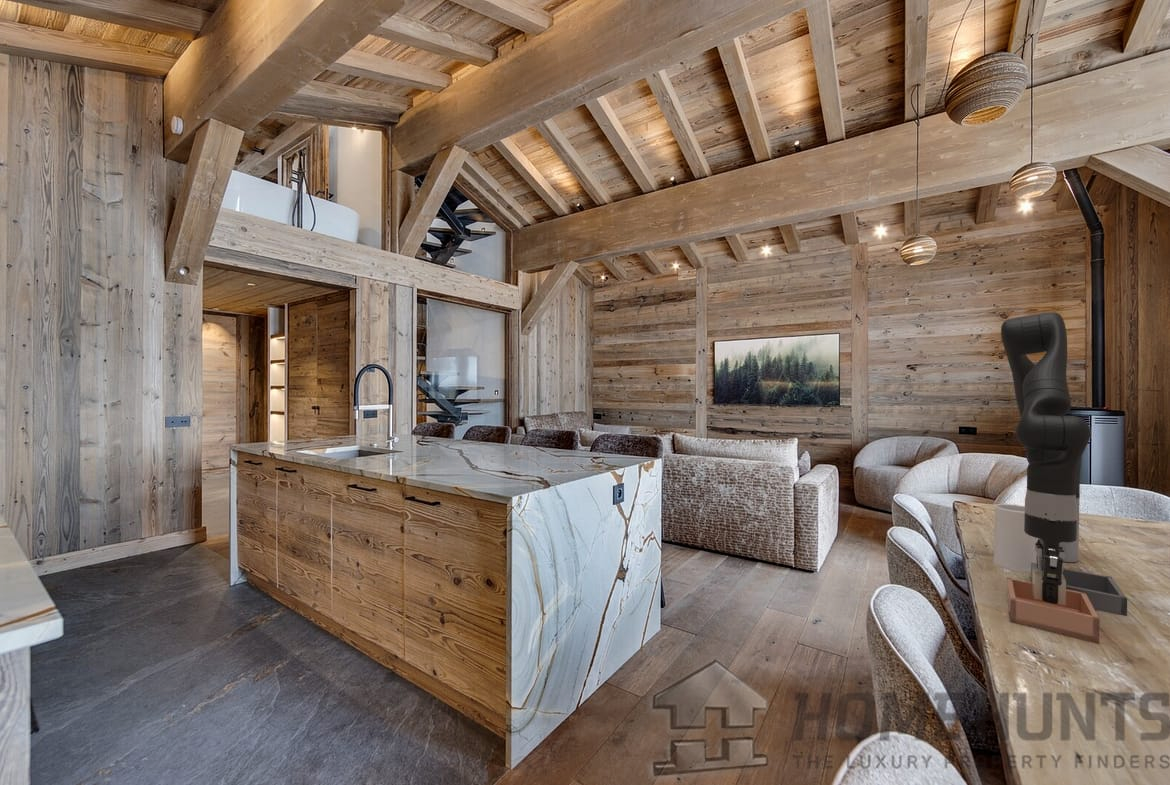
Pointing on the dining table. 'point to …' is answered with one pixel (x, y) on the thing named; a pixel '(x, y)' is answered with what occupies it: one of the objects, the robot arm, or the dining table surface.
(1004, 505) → the cup
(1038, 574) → the block
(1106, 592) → the bin
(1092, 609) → the bin
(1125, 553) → the dining table surface
